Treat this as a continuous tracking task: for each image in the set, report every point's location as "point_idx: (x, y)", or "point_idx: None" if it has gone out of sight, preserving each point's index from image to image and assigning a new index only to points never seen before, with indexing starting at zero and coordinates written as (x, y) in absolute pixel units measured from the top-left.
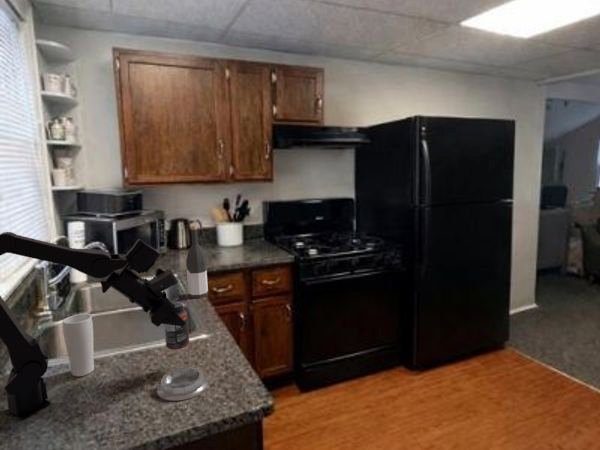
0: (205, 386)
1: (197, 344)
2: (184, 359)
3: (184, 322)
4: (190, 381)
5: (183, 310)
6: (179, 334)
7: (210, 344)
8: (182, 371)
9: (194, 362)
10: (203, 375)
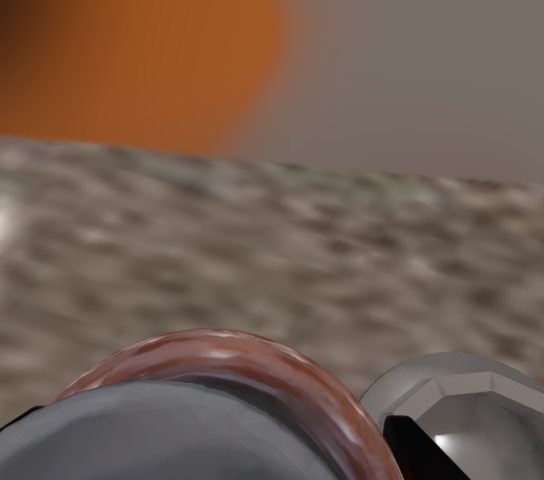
0: (537, 386)
1: (53, 281)
2: None
3: (421, 433)
4: (457, 441)
5: (237, 383)
6: None
7: (104, 228)
8: None
9: None
10: (423, 360)
